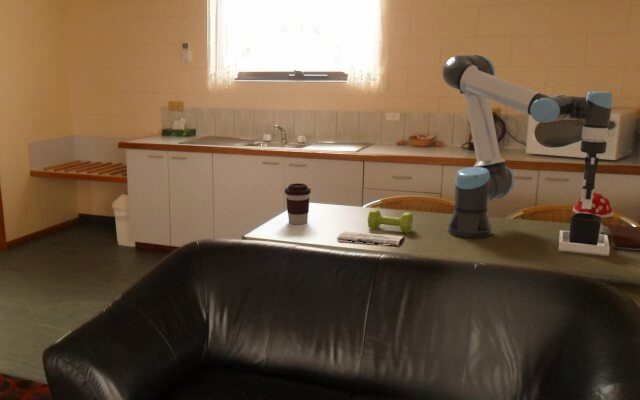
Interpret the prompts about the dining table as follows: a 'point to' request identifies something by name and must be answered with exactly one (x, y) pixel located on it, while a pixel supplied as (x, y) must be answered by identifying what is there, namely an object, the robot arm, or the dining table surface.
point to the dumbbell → (390, 220)
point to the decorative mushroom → (596, 207)
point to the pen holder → (584, 228)
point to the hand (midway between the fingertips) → (585, 203)
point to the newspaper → (370, 238)
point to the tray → (584, 245)
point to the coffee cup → (297, 203)
